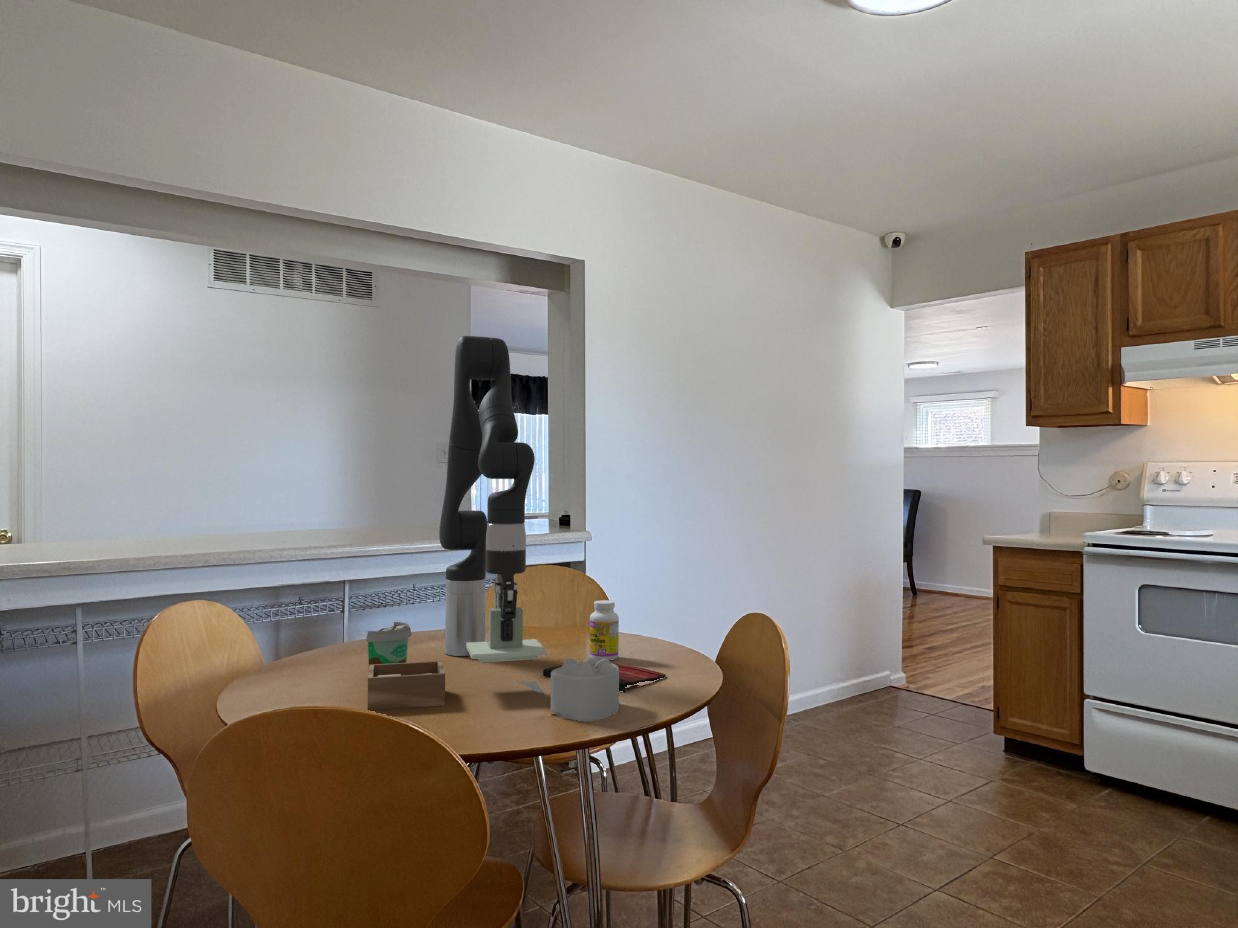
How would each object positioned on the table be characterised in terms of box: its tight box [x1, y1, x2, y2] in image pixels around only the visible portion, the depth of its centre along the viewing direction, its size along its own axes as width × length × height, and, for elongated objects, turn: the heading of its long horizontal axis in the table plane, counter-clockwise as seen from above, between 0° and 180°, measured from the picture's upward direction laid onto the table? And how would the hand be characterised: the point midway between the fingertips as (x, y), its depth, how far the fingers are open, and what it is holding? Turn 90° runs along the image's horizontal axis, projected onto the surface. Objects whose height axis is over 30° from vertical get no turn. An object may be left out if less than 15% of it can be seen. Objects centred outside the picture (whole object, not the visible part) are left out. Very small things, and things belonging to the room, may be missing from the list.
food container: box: [365, 621, 412, 667], centre depth 168 cm, size 12×6×10 cm, turn 168°
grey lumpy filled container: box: [550, 656, 620, 723], centre depth 143 cm, size 10×13×9 cm
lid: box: [466, 607, 548, 663], centre depth 153 cm, size 12×14×9 cm
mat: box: [519, 680, 547, 697], centre depth 153 cm, size 14×14×1 cm
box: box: [367, 660, 446, 711], centre depth 146 cm, size 11×13×6 cm
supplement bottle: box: [588, 599, 620, 660], centre depth 185 cm, size 7×7×13 cm
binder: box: [542, 662, 667, 693], centre depth 167 cm, size 16×2×21 cm
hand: (505, 638), depth 153 cm, fingers closed on lid, 3 cm apart
